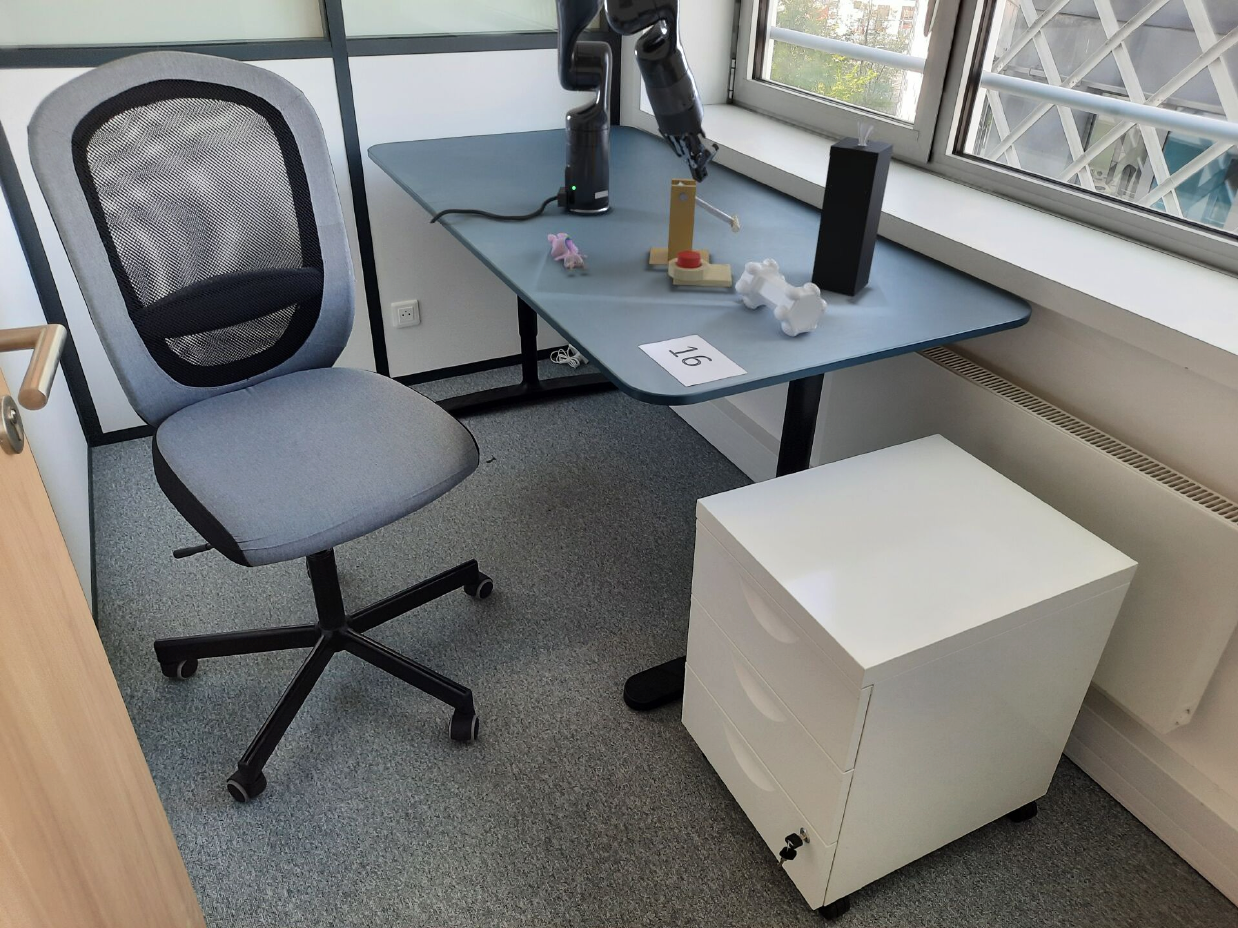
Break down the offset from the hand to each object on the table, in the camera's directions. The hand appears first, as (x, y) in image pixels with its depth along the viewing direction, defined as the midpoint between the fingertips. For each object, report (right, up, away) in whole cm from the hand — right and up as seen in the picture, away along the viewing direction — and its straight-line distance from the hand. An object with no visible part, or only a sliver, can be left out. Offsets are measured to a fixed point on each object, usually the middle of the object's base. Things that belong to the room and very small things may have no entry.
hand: (701, 178), depth 150 cm
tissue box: (+25, -19, +4) cm, 31 cm away
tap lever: (+1, -3, +9) cm, 10 cm away
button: (-2, -14, +3) cm, 15 cm away
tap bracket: (-3, -11, +15) cm, 19 cm away
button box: (+1, -17, +6) cm, 18 cm away
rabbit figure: (-24, -11, +14) cm, 30 cm away
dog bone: (+12, -26, -7) cm, 29 cm away
